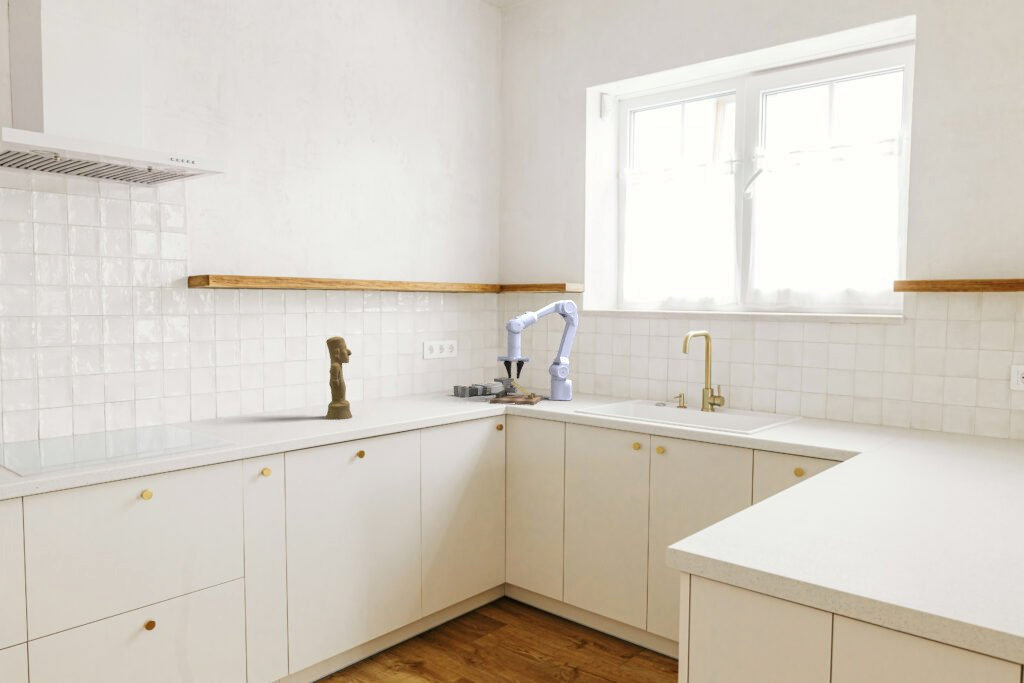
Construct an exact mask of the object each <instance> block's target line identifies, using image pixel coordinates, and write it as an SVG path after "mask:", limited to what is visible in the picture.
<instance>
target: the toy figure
mask: <svg viewBox="0 0 1024 683" xmlns="http://www.w3.org/2000/svg"><path fill="white" fill-rule="evenodd" d="M512 381H514V382H515V379H514V378H513V377H511V378H508V377H503V376H502V377H495V378H493V381H485V382H482V383H472V384H471V385H468V386H466V385H464V386H463V385H453V395H454V397H461V398H465V397H466V398H469V397H471V396H477V395H478V396H479V395H480V396H481V395H482V396H485V395H496V393H498V392H500V391H502V390H506V387H510V385H513V384H511V382H512ZM513 387H515V386H514V385H513Z"/></svg>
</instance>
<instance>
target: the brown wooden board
mask: <svg viewBox="0 0 1024 683" xmlns="http://www.w3.org/2000/svg"><path fill="white" fill-rule="evenodd" d="M530 394H531V395H528V396H527V395H526V394H515V393H506V390H502V391H500V392H498V393H496V394H495V397H493V398H491V399H489V403H490V404H496V403H515V404H514V405H521V404H530V405H529V406H534V404H535V405H536V404H537V403H540V402H541V401H542V400H543V399H544V396H543V395H540V394H536V392H530ZM533 396H534V398H533Z"/></svg>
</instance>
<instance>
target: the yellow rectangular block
mask: <svg viewBox="0 0 1024 683" xmlns="http://www.w3.org/2000/svg"><path fill="white" fill-rule="evenodd" d="M511 384H513V385H514V387H517V390H519V391H521V393H523V394H524V395H527V396H528V395H531V392H529V391H528V390H527V389H525V388H523V386H521V385H520V384H518V383H517V382H516V381H515V380H514V381H512V382H511ZM533 398H534V396H533Z"/></svg>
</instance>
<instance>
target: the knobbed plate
mask: <svg viewBox="0 0 1024 683" xmlns="http://www.w3.org/2000/svg"><path fill="white" fill-rule="evenodd" d="M506 393H507V394H516V393H518V388H517V387H515V386H514V387H513V385H510V387H506Z"/></svg>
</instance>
